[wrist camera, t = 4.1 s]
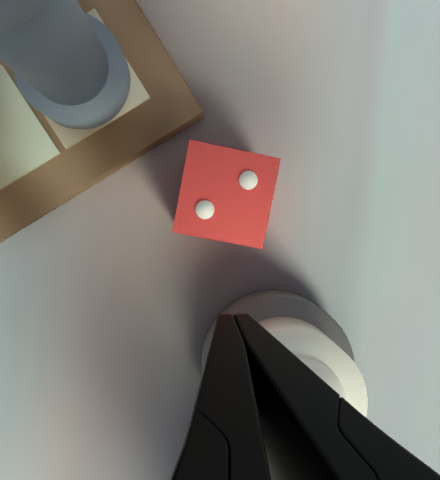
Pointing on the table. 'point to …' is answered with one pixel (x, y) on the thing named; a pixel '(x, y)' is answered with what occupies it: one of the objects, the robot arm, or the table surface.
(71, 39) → the pawn
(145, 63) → the game board
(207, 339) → the dome base
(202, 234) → the red die
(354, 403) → the dome
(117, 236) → the table surface
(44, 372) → the table surface
